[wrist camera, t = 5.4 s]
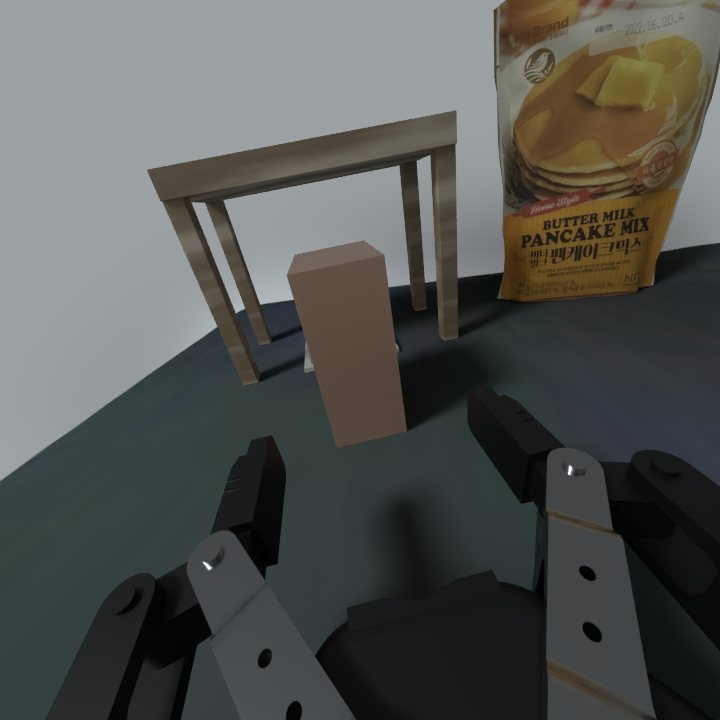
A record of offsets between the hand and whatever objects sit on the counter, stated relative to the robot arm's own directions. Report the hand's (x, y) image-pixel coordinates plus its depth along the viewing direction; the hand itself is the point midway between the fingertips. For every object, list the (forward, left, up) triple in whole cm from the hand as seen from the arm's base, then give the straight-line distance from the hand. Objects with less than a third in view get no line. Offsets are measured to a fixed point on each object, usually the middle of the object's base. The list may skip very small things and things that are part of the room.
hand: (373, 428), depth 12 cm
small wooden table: (-6, -23, -7) cm, 25 cm away
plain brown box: (-3, -9, -7) cm, 12 cm away
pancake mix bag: (-33, -16, -7) cm, 38 cm away
